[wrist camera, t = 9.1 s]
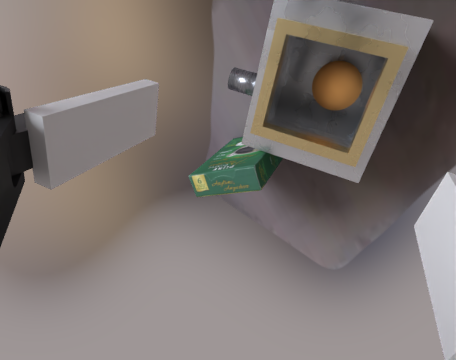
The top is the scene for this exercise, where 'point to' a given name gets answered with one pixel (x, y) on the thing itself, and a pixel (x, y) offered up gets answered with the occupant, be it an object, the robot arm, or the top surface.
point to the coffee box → (234, 170)
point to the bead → (337, 85)
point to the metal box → (305, 72)
